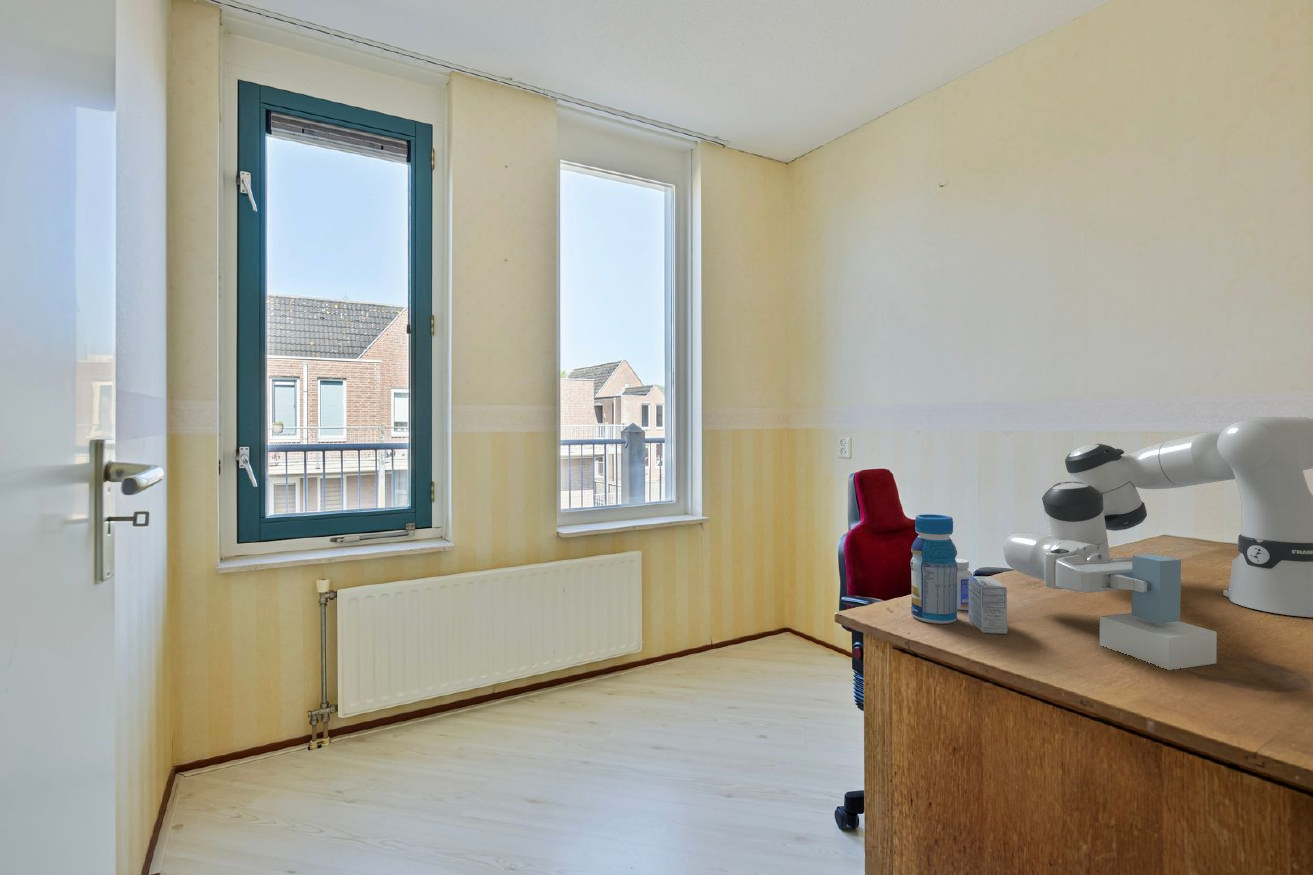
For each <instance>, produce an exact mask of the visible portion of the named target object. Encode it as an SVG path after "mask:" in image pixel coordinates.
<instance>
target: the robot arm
mask: <svg viewBox="0 0 1313 875" xmlns="http://www.w3.org/2000/svg"><path fill="white" fill-rule="evenodd" d="M1124 454H1125V450H1123V449H1122V448H1115V447H1113V446H1111V445H1108V444H1103V443H1094V444H1085V445H1081V446H1080V447H1078V448H1076V449H1074V450H1073V451H1072V452H1070V453H1069V454H1068V455H1067V456H1066V458H1064V464H1065V467H1066V471H1067V473H1069V475H1070V478H1071V479H1072V481H1064V482H1057V483H1055V484H1054V485H1052V487H1050V488H1049V489H1047V491H1045V493H1044V494H1043V495H1042V498H1041V499H1042V500H1041V501H1042V505H1043V508H1044V509H1043V515H1044V519H1045V521H1046V524H1047V529H1048V534H1041V533H1040V534H1039V533H1032V532H1013V533H1010V534H1009V535H1008V536H1007V538H1006V539H1005V540H1004V541H1005V542H1004V544H1003V554H1004V560H1005V562H1006V564H1007V565H1008V566H1009V567H1010V568H1011V569H1013V570H1015V571H1016V572H1018V573H1021V574H1023V575H1026V576H1028V577H1030V578H1034V579H1037V580H1041V581H1044V586H1045V587H1047V588H1049V589H1053V590H1067V591H1071V592H1077V593H1087V594H1088V593H1089V594H1090V593H1099V592H1100V593H1101V592H1109V591H1110V592H1112V591H1118V590H1119V591H1120V590H1126V591H1132V590H1135V591H1139V592H1149V591H1151V582H1150V581H1147V580H1143V579H1134V578H1132V557H1130V556H1129V557H1127V556H1126V557H1125V556H1123V557H1113V558H1111V554H1110V547H1109V540H1108V539H1109V538H1108V532H1107V530H1108V531H1113V532H1116V531H1125V530H1129V529H1132V528H1135V527H1136V526H1138V525H1140V524H1141V523H1143V522H1144V521H1145V520H1146V518H1147V516H1148V513H1147V508H1146V505H1145V502H1143V501H1142V500H1141V496H1140V494H1139V491H1138V489H1143V490H1167V489H1177V488H1184V487H1185V488H1186V487H1192V486H1197V485H1203V484H1210V483H1218V482H1224V481H1229V480H1231V481H1232V480H1235V482H1236V485H1237V489H1238V492H1239V497H1240V508H1241V509H1240V514H1241V515H1240V518H1241V519H1240V520H1241V522H1240V523H1241V526H1240V527H1241V530H1240V531H1241V533H1240V534H1239V535H1238V538H1237V539H1238V540H1237V551H1238V552H1239V555H1238V556H1236V557H1235V558H1233V559H1232V561H1231V562H1232V564H1231V571H1230V579H1229V587H1228V589H1224V590H1223V592H1222V595H1223V596H1225V597H1226V598H1229V601H1230V602H1232V603H1234V604H1236V605H1239V606H1242V607H1246V608H1249V609H1254V610H1258V611H1262V612H1265V613H1266V612H1267V613H1273V614H1278V615H1279V614H1280V615H1286V616H1295V617H1303V618H1304V617H1306V618H1313V494H1312V492H1311V491H1310V489H1309V485H1308V483H1307V480H1306V477H1305V473H1304V471H1306V470H1311V469H1313V418H1310V417H1302V416H1255V417H1249V418H1246V419H1242V420H1240V421H1238V422H1237V421H1236V422H1235V423H1232V424H1230V425H1228V426H1226V427H1225V428H1224V429H1220V430H1214V431H1213V430H1212V431H1207V432H1202V433H1197V434H1192V435H1189V436H1183V437H1178V438H1174V439H1170V440H1166V441H1162V442H1158V443H1154V444H1151V445H1148V446H1146V447H1143V448H1141V449H1138V450H1136V451H1133V452H1131V453H1130V454H1127V455H1124ZM1137 488H1138V489H1137Z"/></svg>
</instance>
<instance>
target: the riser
mask: <svg viewBox="0 0 1313 875" xmlns="http://www.w3.org/2000/svg"><path fill="white" fill-rule="evenodd" d="M1217 637H1218V633H1217V631H1215V630H1212V629H1208V628H1204V627H1201V626H1197V625H1194V624H1190V623H1187V622H1184V621H1181V620H1180V621H1177V622H1169V623H1160V624H1159V623H1156V622H1153V621H1149V620H1146V619H1143V618H1139V617H1136V616H1133V615H1132V612H1128V613H1127V612H1126V613H1125V612H1124V613H1116V614H1110V615H1101V616H1099V646H1101V647H1103V646H1104V647H1103V648H1106V647H1107V648H1106V649H1109V650H1111V649H1112V651H1113V652H1117V651H1119V652H1121V653H1120V654H1122V653H1124V654H1123V655H1125V654H1127V655H1126V656H1128V655H1132V656H1134V657H1136V658H1138V659H1137V660H1139V659H1142V660H1144V661H1146V662H1145V663H1147V662H1148V663H1147V664H1150V663H1152V664H1155V665H1156V667H1158V666H1159V667H1158V668H1161V669H1163V668H1164V669H1163V670H1166V669H1167V670H1166V671H1172V670H1173V669H1174V670H1179V669H1180V668H1181V669H1187V668H1193V667H1201V666H1207V665H1214V664H1217V643H1218V642H1217V640H1218V639H1217ZM1119 652H1118V653H1119ZM1136 658H1135V659H1136ZM1144 661H1143V662H1144ZM1152 664H1151V665H1152ZM1155 665H1154V666H1155ZM1181 669H1180V670H1181Z"/></svg>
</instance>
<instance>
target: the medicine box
mask: <svg viewBox="0 0 1313 875" xmlns="http://www.w3.org/2000/svg"><path fill="white" fill-rule="evenodd" d="M1007 591H1008V590H1007V586H1005V585H1004V584H1003V583H1002V582H999V580H996V578H994V577H992V576H983V575H981V576H979V575H978V576H976V575H973V576H972V577H969V580H968V594H969V604H968V605H969V607H968V609H969V610H968V620H969V621H970V622H971V623H972V624H973V625H974V626H975V627H976V628H977V629H978V630H979V631H980V632H981V633H983V634H996V635H997V634H998V635H1006V634H1008V598H1007V597H1008V596H1007V595H1008V592H1007Z"/></svg>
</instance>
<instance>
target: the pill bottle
mask: <svg viewBox="0 0 1313 875" xmlns="http://www.w3.org/2000/svg"><path fill="white" fill-rule="evenodd" d="M955 560H956V562H957V564H958V571H957V610H958V611H969V609H968V607H969V605H968V604H969V594H968V580H969V577H972V576H974V575H973V573H972V572H971V571H970V570H969V567H970V564H969V563H970V562H969V560H967V559H964V558H956V557H955Z"/></svg>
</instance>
